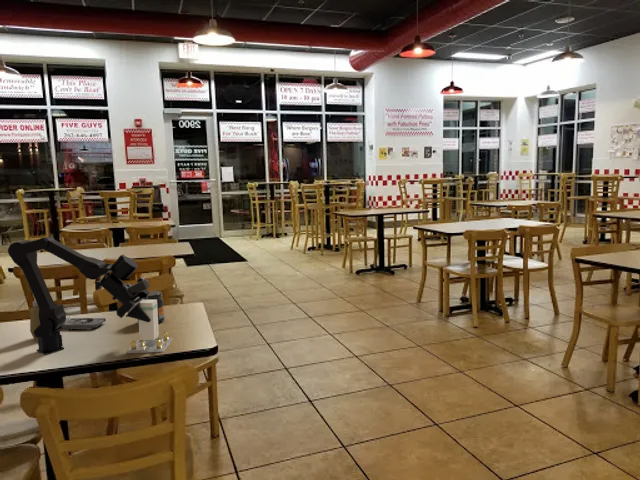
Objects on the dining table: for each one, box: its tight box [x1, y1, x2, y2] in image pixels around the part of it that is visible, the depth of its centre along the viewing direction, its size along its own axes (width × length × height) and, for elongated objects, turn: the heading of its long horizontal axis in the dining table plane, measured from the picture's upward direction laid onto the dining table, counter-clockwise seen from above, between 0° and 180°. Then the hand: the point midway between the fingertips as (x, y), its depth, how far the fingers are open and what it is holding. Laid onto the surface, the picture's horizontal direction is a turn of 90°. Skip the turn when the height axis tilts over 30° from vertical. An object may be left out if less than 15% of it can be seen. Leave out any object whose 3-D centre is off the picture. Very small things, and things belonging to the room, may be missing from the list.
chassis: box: [126, 331, 173, 354], centre depth 175 cm, size 12×12×4 cm
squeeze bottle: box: [29, 300, 40, 341], centre depth 186 cm, size 8×8×18 cm
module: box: [138, 300, 160, 340], centre depth 173 cm, size 5×5×13 cm
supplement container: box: [137, 290, 166, 324], centre depth 204 cm, size 10×10×12 cm
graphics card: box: [58, 316, 107, 332], centre depth 200 cm, size 17×4×12 cm
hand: (152, 319), depth 173 cm, fingers closed on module, 5 cm apart
